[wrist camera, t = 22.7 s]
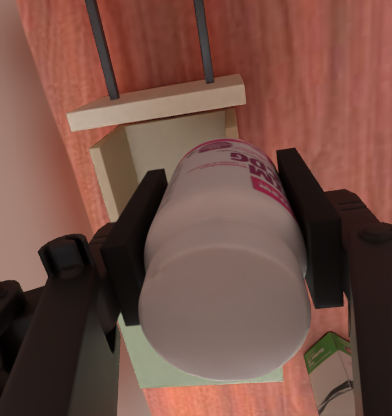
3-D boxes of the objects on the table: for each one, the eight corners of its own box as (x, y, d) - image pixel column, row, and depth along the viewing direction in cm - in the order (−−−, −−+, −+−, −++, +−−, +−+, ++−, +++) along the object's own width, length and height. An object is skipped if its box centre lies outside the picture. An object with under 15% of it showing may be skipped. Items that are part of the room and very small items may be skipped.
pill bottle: (295, 150, 15) (369, 263, 7) (260, 245, 17) (289, 413, 9) (184, 122, 15) (139, 206, 7) (162, 221, 17) (108, 370, 9)
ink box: (300, 354, 41) (327, 464, 31) (330, 329, 39) (369, 436, 29) (357, 388, 43) (400, 503, 32) (388, 364, 41) (446, 479, 30)
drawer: (73, -17, 27) (18, -38, 19) (226, -51, 25) (226, -87, 18) (140, 236, 35) (118, 285, 28) (256, 223, 34) (264, 271, 27)
